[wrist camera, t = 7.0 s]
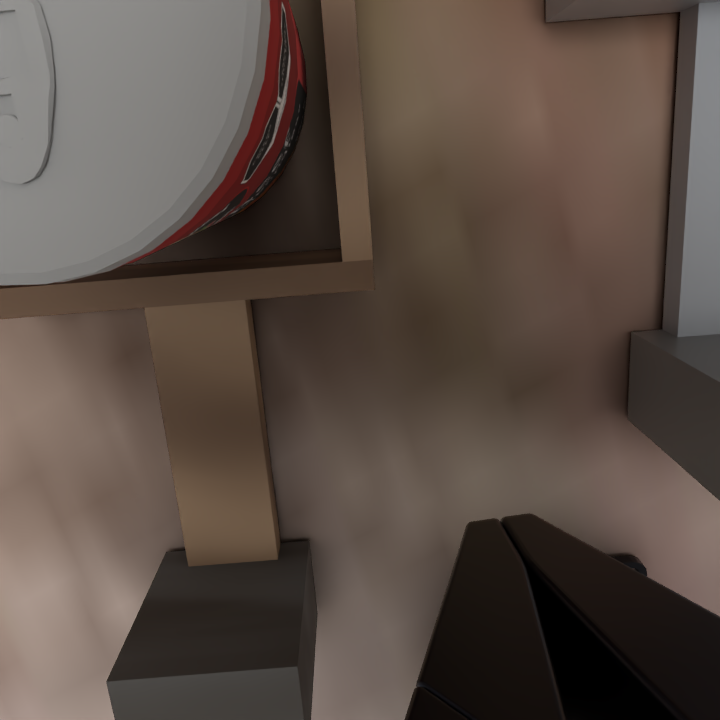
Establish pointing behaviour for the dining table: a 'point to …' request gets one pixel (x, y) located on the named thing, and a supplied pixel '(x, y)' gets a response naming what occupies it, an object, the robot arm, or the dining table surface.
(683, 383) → the grey tray
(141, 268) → the tan tray with handle
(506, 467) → the dining table surface
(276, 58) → the canned food
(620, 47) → the dining table surface
